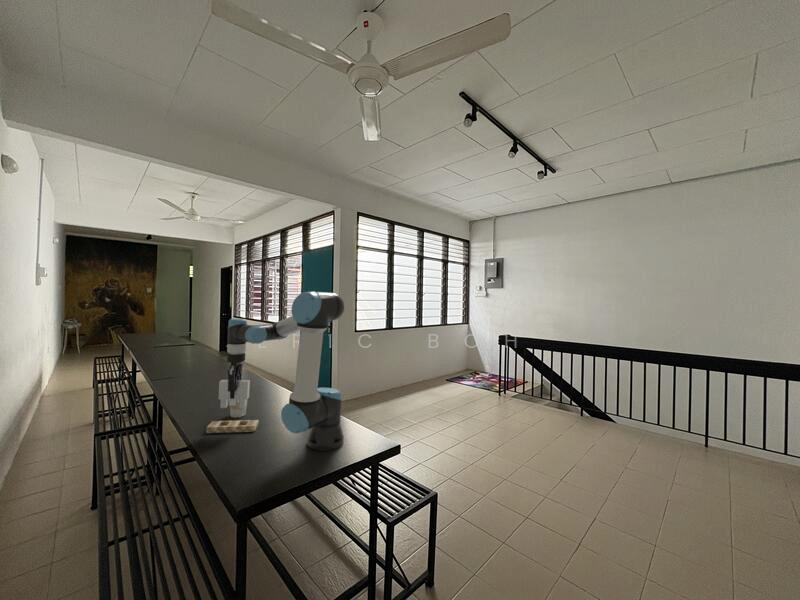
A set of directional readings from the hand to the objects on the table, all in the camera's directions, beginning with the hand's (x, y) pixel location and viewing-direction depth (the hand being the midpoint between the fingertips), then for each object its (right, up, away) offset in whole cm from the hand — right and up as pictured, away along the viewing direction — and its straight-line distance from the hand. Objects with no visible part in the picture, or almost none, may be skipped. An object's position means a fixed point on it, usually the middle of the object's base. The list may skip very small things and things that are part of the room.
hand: (233, 403), depth 146 cm
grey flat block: (0, -2, 0) cm, 2 cm away
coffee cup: (-6, -11, +16) cm, 21 cm away
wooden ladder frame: (0, -12, 0) cm, 12 cm away
